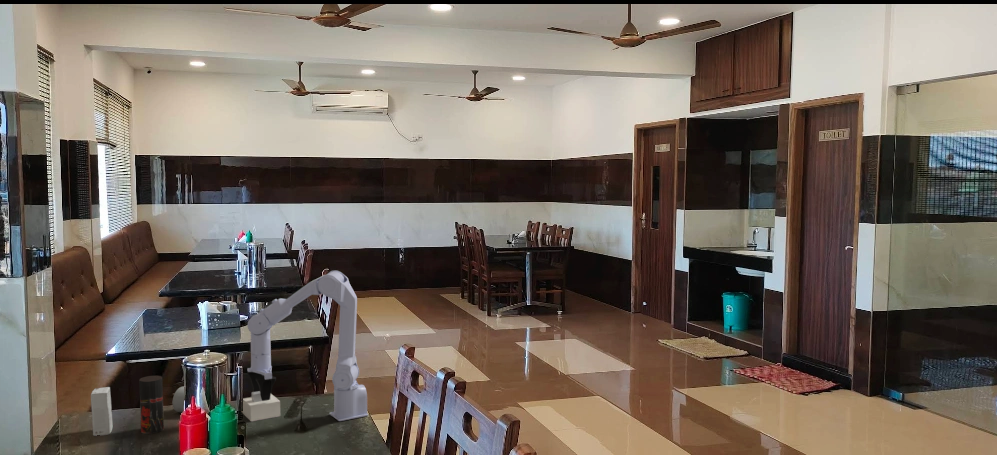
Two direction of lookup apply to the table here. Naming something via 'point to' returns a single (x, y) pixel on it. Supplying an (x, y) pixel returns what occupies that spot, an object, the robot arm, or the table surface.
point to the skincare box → (101, 411)
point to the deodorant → (151, 404)
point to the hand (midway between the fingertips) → (261, 396)
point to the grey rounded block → (178, 400)
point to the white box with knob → (260, 407)
